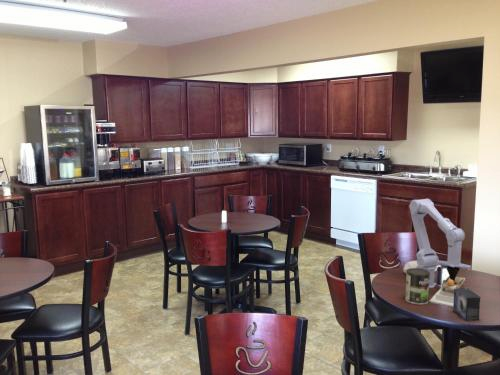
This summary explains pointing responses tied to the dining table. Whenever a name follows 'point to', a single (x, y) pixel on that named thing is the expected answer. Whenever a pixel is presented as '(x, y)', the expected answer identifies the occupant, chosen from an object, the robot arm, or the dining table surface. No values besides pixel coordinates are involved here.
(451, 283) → the ball
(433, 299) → the lever base
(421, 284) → the coffee can
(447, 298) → the beige flat block
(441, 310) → the dining table surface
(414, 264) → the crystal
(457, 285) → the lever
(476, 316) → the small box
